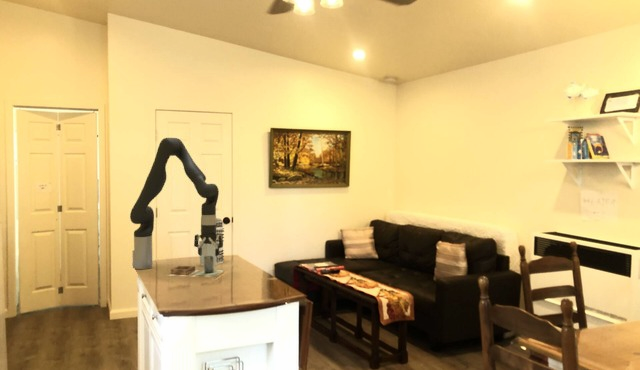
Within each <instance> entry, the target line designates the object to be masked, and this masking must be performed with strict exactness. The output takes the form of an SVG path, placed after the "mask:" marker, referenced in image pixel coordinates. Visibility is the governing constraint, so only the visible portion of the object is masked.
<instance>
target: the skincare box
mask: <svg viewBox="0 0 640 370" xmlns="http://www.w3.org/2000/svg"><path fill="white" fill-rule="evenodd" d="M201 241H202V239H200V240H199V241H198V244H200V242H201ZM201 248H202V255H201V256H199V266H201V267H204V257H205V256H213V268H214V267H217V265H218V264H216V256H215V249H216V248H215V246H214V245H213V244H205V243H204V244H203V245H202V247H201Z"/></svg>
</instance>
